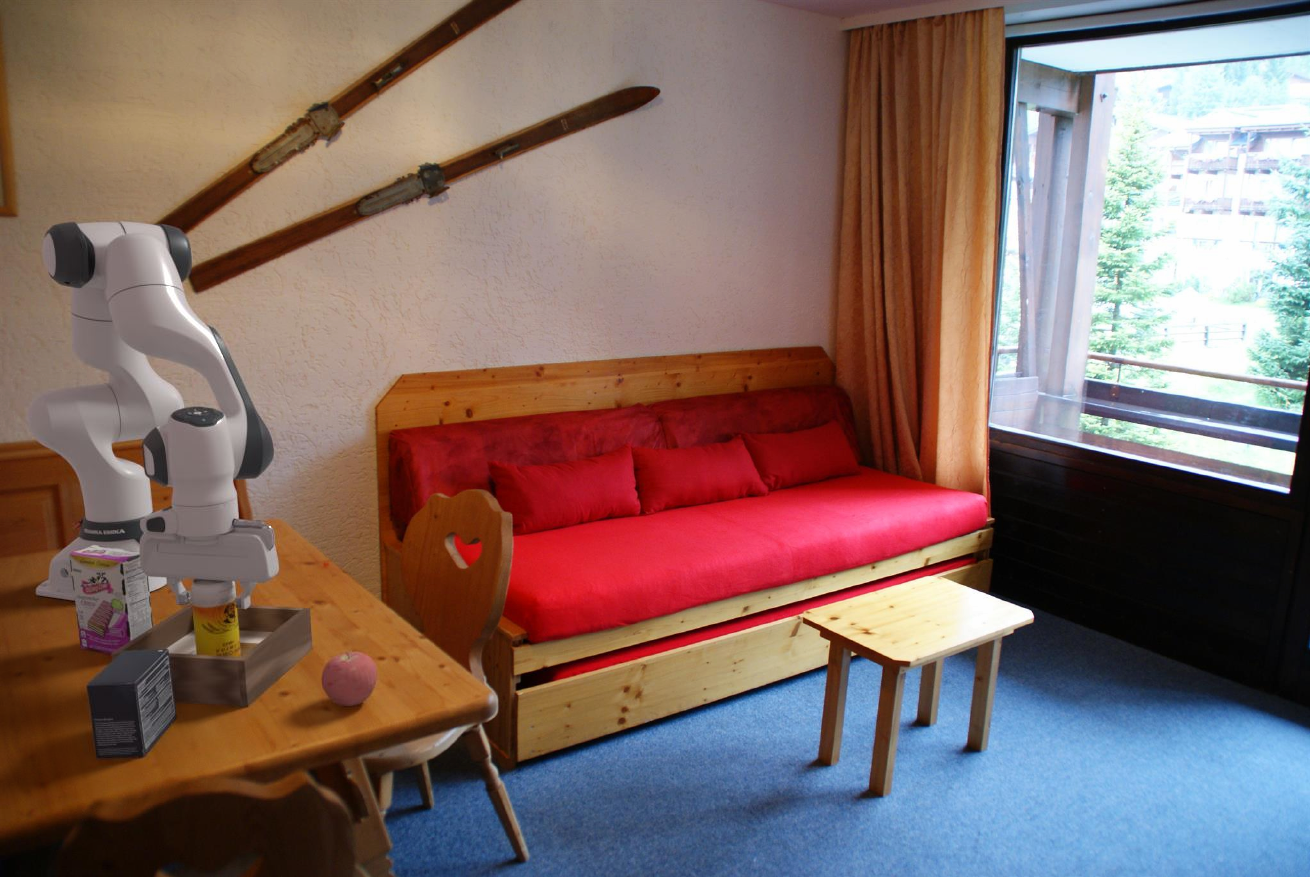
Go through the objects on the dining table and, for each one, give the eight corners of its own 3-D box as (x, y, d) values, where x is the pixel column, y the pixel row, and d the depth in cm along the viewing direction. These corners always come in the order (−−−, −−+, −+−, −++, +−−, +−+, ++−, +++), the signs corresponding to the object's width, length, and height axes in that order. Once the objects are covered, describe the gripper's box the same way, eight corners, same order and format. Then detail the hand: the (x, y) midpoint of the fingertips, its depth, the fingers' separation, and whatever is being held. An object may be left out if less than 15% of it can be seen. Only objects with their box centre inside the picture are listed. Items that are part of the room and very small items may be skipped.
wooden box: (116, 698, 138) (111, 653, 137) (196, 642, 157) (192, 602, 156) (248, 706, 136) (244, 660, 134) (312, 648, 155) (309, 608, 154)
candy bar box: (78, 650, 154) (66, 552, 151) (104, 638, 159) (94, 543, 156) (131, 660, 151) (120, 560, 147) (157, 648, 155) (147, 551, 152)
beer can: (224, 682, 143) (216, 587, 140) (189, 678, 145) (180, 583, 142) (250, 665, 149) (243, 574, 146) (216, 661, 150) (208, 570, 147)
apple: (356, 719, 133) (353, 665, 131) (313, 710, 135) (309, 657, 134) (388, 696, 139) (386, 644, 138) (346, 687, 142) (343, 637, 140)
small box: (129, 719, 132) (121, 648, 130) (178, 718, 133) (171, 647, 131) (92, 759, 122) (83, 683, 120) (145, 758, 122) (137, 681, 120)
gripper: (283, 515, 144) (289, 601, 147) (155, 508, 146) (163, 594, 149) (262, 527, 138) (268, 617, 141) (129, 520, 140) (137, 609, 143)
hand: (213, 605), depth 145 cm, fingers open, 8 cm apart
